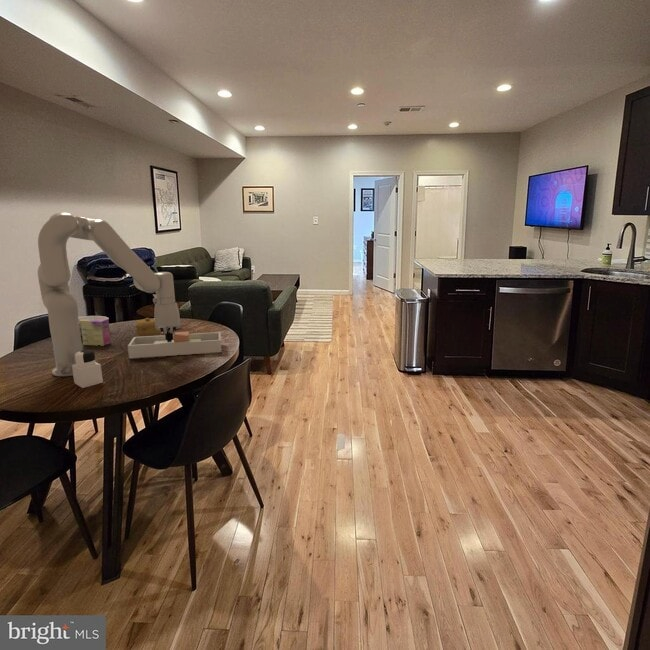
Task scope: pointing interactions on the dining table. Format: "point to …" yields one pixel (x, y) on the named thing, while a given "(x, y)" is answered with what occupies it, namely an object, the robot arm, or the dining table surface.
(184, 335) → the block
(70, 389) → the dining table surface
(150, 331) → the pot
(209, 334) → the channel
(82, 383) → the medicine bottle
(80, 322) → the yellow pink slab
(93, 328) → the box
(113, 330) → the dining table surface
